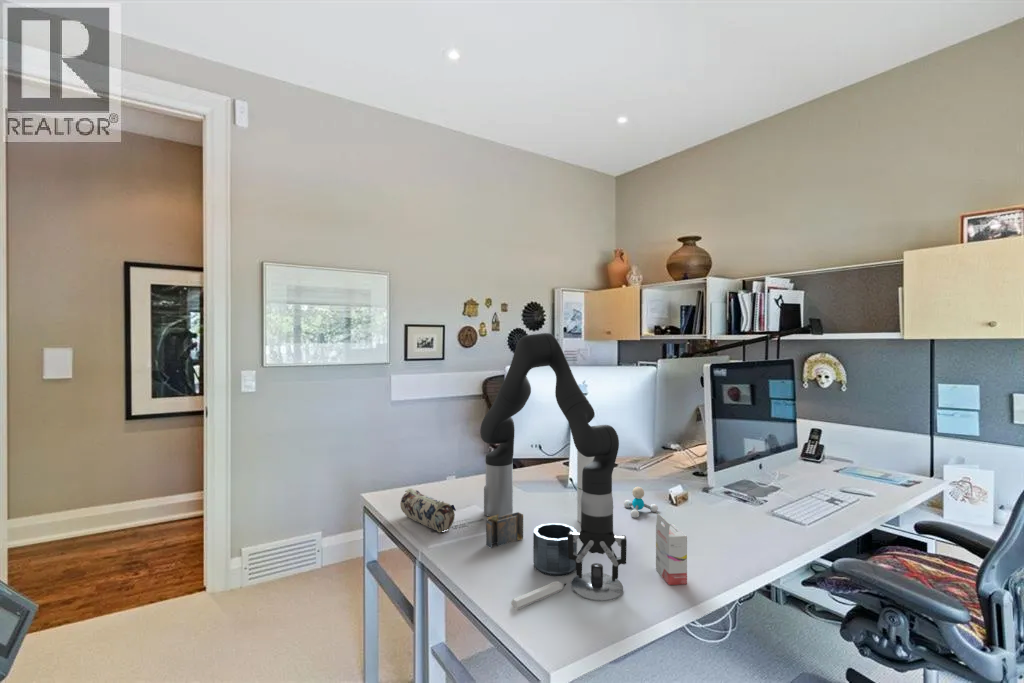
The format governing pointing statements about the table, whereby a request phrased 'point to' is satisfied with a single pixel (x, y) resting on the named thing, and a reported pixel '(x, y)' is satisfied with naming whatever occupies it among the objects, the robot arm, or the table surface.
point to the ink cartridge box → (671, 552)
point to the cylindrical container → (581, 463)
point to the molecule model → (638, 502)
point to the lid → (597, 585)
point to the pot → (553, 549)
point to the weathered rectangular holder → (504, 529)
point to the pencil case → (427, 510)
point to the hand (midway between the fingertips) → (597, 578)
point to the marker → (537, 595)
